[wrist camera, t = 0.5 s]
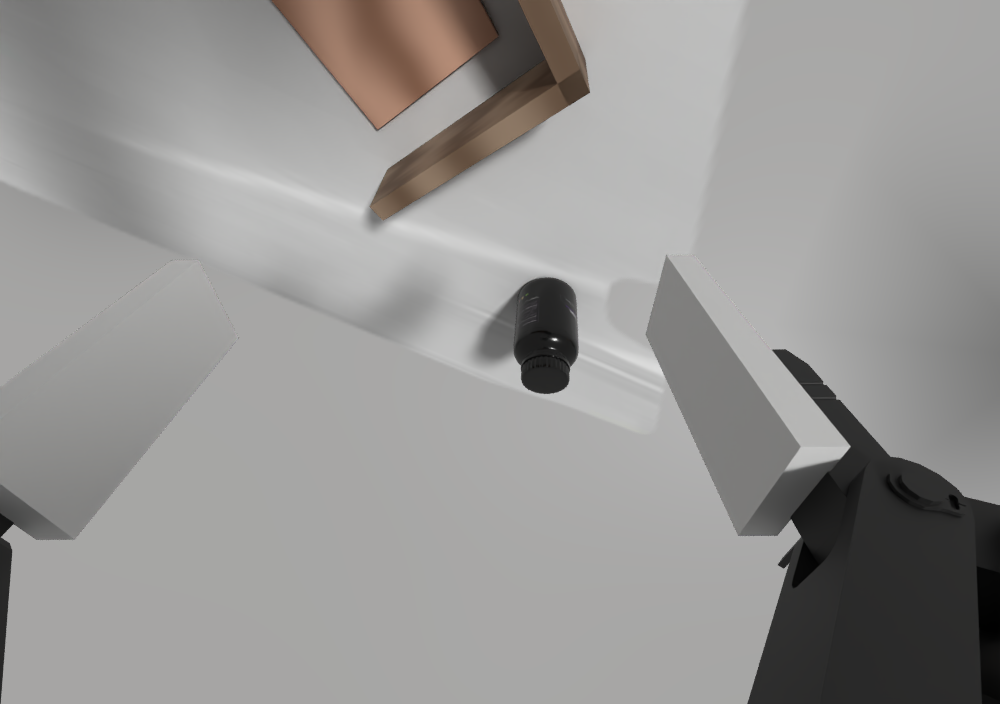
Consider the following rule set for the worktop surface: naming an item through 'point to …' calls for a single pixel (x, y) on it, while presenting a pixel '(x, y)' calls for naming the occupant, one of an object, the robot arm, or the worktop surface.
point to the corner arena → (437, 76)
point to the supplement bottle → (546, 334)
